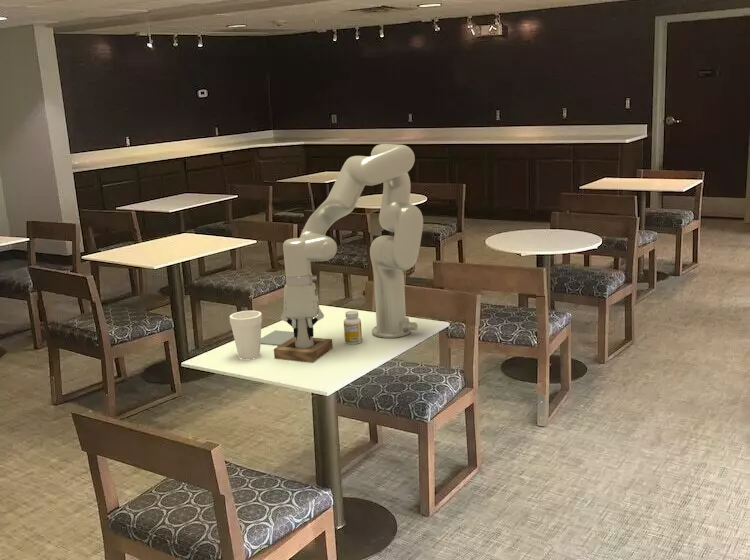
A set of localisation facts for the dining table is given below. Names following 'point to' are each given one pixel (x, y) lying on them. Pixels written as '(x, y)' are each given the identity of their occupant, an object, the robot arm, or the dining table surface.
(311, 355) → the block
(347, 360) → the dining table surface
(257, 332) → the foam cup
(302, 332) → the salt shaker
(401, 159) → the robot arm
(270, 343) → the grey mat
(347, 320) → the supplement bottle
